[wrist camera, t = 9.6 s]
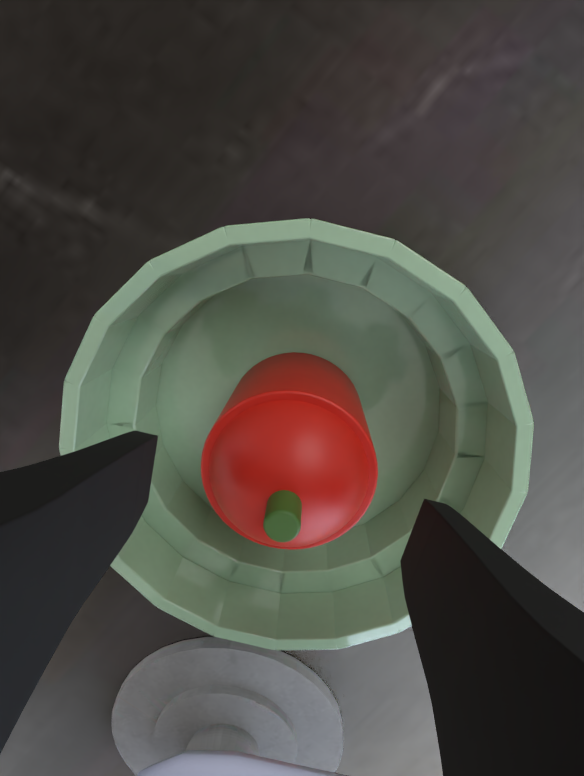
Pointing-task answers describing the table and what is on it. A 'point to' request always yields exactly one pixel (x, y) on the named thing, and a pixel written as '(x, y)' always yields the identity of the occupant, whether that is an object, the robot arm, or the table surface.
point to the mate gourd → (226, 706)
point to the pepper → (291, 454)
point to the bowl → (378, 399)
